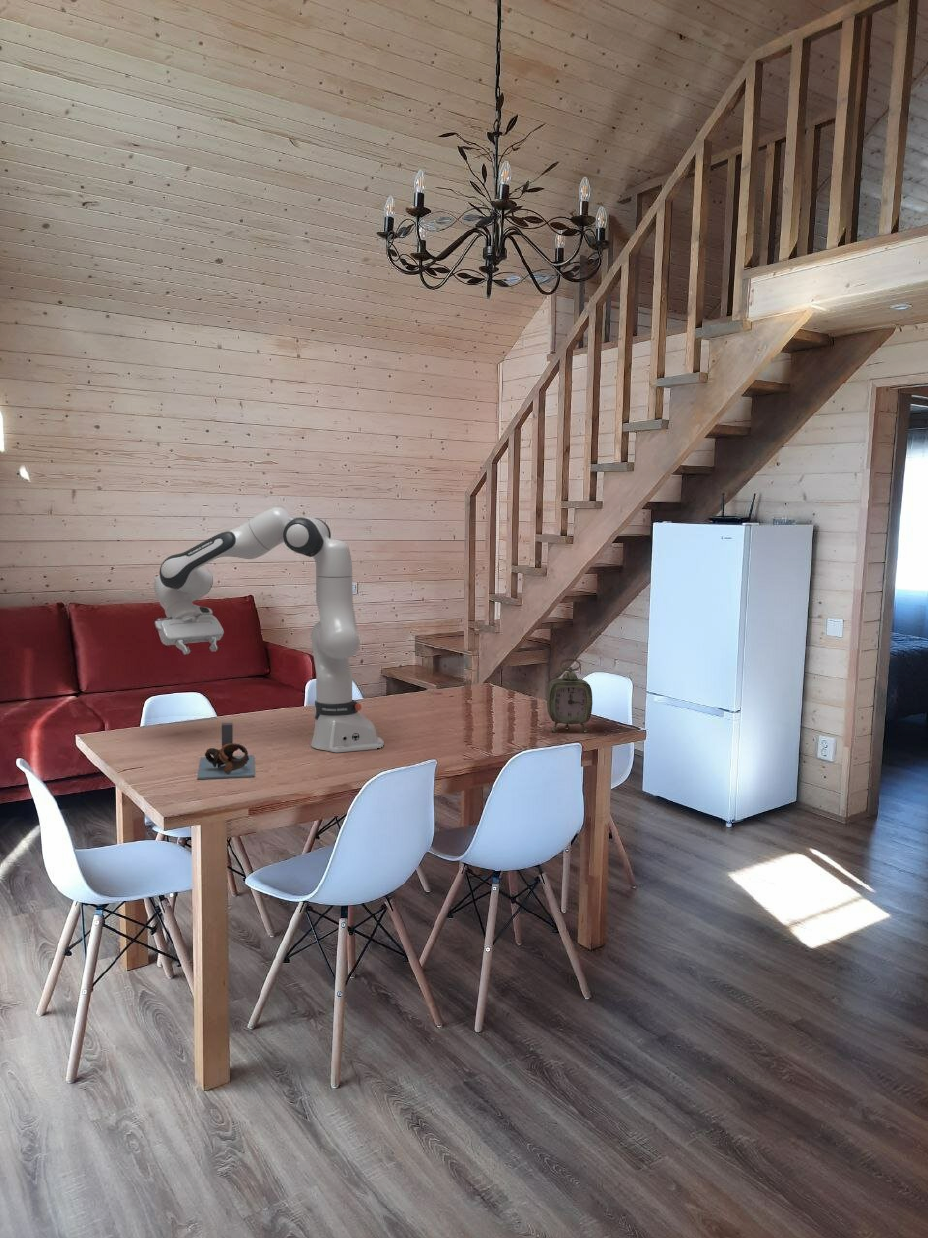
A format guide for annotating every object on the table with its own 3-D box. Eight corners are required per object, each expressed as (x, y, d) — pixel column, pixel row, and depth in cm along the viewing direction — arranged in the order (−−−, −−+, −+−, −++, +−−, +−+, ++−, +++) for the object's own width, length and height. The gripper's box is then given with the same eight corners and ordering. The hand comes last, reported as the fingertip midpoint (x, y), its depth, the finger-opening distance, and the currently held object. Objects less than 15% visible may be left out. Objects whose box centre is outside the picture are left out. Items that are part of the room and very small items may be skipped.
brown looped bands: (247, 765, 255) (253, 744, 251) (241, 788, 247) (247, 766, 243) (205, 755, 253) (210, 734, 249) (197, 778, 245) (203, 756, 241)
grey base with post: (253, 756, 265) (253, 721, 264) (254, 776, 244) (254, 739, 243) (200, 759, 261) (200, 723, 260) (197, 779, 241) (196, 741, 240)
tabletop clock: (548, 733, 301) (550, 660, 299) (545, 727, 310) (547, 656, 308) (591, 734, 302) (594, 660, 299) (586, 728, 311) (589, 656, 308)
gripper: (156, 612, 269) (174, 648, 263) (215, 608, 284) (233, 642, 279) (148, 625, 272) (166, 661, 267) (207, 621, 287) (225, 654, 282)
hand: (201, 651), depth 273 cm, fingers open, 8 cm apart
